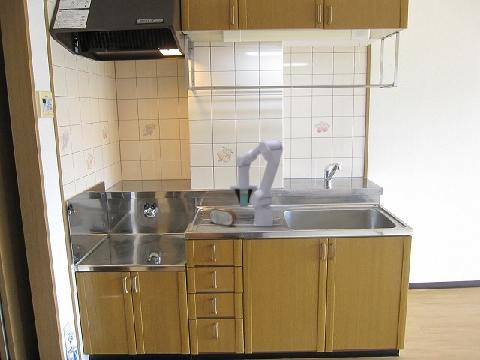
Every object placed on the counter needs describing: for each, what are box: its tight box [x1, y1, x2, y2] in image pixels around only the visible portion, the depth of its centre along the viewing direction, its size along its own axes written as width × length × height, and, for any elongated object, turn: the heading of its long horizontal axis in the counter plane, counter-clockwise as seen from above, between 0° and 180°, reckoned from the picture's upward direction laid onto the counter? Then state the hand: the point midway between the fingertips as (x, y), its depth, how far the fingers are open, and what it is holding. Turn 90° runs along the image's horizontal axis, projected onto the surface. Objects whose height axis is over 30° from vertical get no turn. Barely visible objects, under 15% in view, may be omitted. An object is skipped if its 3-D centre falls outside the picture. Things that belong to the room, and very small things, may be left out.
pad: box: [235, 213, 253, 221], centre depth 213 cm, size 9×8×1 cm
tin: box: [208, 206, 237, 227], centre depth 199 cm, size 15×3×8 cm, turn 59°
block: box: [239, 193, 249, 207], centre depth 211 cm, size 4×4×6 cm
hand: (243, 203), depth 211 cm, fingers closed on block, 4 cm apart
